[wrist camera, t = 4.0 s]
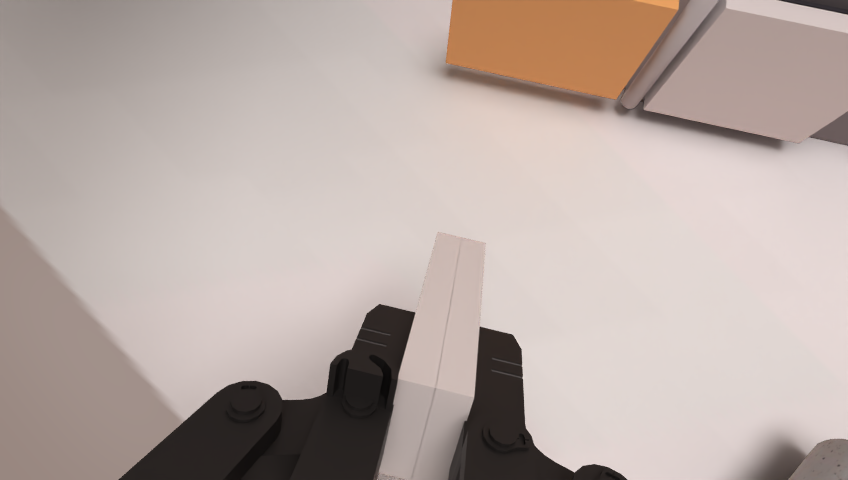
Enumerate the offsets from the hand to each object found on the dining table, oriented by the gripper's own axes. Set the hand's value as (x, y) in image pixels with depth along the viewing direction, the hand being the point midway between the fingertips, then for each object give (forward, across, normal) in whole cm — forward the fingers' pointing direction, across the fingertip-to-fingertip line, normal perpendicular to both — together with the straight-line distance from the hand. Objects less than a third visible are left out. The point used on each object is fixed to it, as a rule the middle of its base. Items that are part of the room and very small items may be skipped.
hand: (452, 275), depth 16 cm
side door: (+18, +8, +4) cm, 20 cm away
